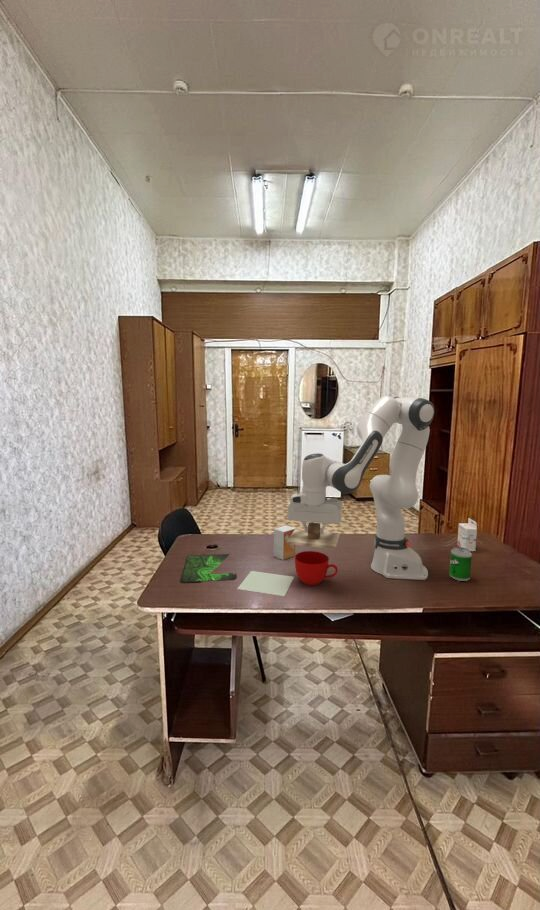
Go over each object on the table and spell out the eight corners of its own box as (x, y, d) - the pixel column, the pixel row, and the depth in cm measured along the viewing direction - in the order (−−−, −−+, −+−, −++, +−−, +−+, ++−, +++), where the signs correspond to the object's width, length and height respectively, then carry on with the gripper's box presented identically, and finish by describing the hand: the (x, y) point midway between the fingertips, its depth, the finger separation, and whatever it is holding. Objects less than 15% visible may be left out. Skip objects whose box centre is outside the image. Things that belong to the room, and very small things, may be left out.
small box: (283, 560, 167) (283, 532, 165) (273, 556, 172) (273, 528, 170) (295, 555, 173) (296, 528, 171) (285, 551, 177) (286, 524, 175)
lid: (340, 535, 148) (340, 520, 147) (335, 548, 135) (335, 532, 134) (294, 531, 153) (294, 517, 152) (286, 544, 140) (286, 528, 139)
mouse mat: (186, 556, 172) (186, 554, 172) (235, 554, 174) (235, 552, 174) (179, 584, 145) (179, 581, 145) (237, 581, 147) (237, 579, 147)
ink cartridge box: (456, 546, 186) (458, 517, 184) (466, 546, 186) (468, 517, 184) (464, 552, 178) (467, 522, 176) (475, 553, 178) (478, 522, 176)
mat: (294, 577, 150) (294, 576, 150) (284, 597, 135) (284, 596, 135) (251, 571, 155) (251, 570, 155) (237, 589, 140) (237, 588, 140)
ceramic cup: (330, 596, 136) (331, 569, 135) (288, 584, 145) (289, 559, 143) (342, 581, 148) (343, 557, 146) (302, 572, 156) (303, 548, 154)
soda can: (468, 576, 153) (470, 547, 152) (471, 584, 146) (473, 554, 145) (447, 573, 156) (449, 545, 154) (450, 581, 149) (452, 551, 147)
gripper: (343, 496, 142) (342, 532, 144) (289, 493, 148) (290, 528, 150) (341, 500, 136) (341, 537, 138) (285, 497, 142) (286, 533, 144)
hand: (314, 532), depth 144 cm, fingers closed on lid, 4 cm apart
